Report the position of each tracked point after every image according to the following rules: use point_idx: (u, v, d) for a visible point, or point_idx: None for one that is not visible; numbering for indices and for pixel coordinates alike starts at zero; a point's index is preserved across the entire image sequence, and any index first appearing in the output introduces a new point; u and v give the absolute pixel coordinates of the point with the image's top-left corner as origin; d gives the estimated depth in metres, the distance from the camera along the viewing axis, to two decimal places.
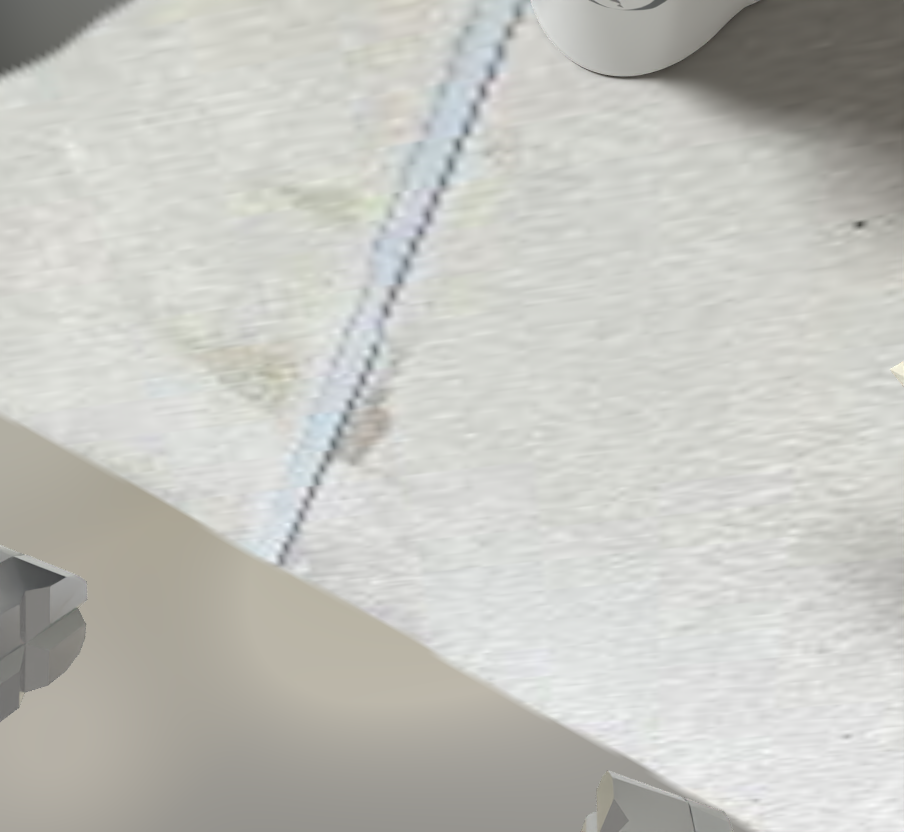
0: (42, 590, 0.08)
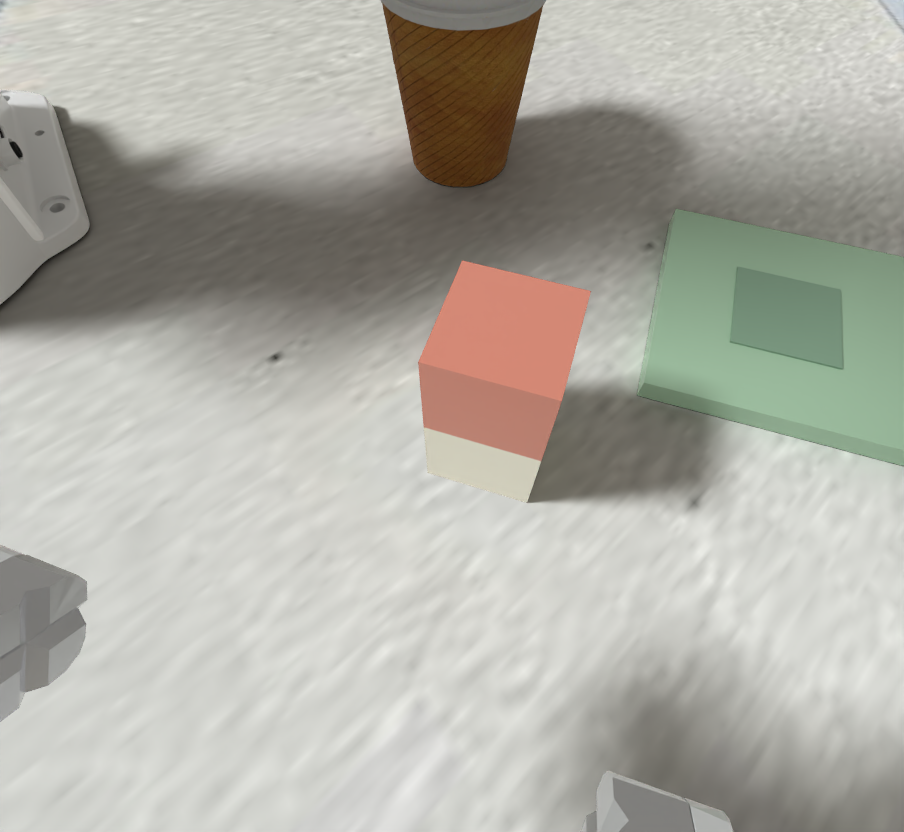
0: (42, 590, 0.08)
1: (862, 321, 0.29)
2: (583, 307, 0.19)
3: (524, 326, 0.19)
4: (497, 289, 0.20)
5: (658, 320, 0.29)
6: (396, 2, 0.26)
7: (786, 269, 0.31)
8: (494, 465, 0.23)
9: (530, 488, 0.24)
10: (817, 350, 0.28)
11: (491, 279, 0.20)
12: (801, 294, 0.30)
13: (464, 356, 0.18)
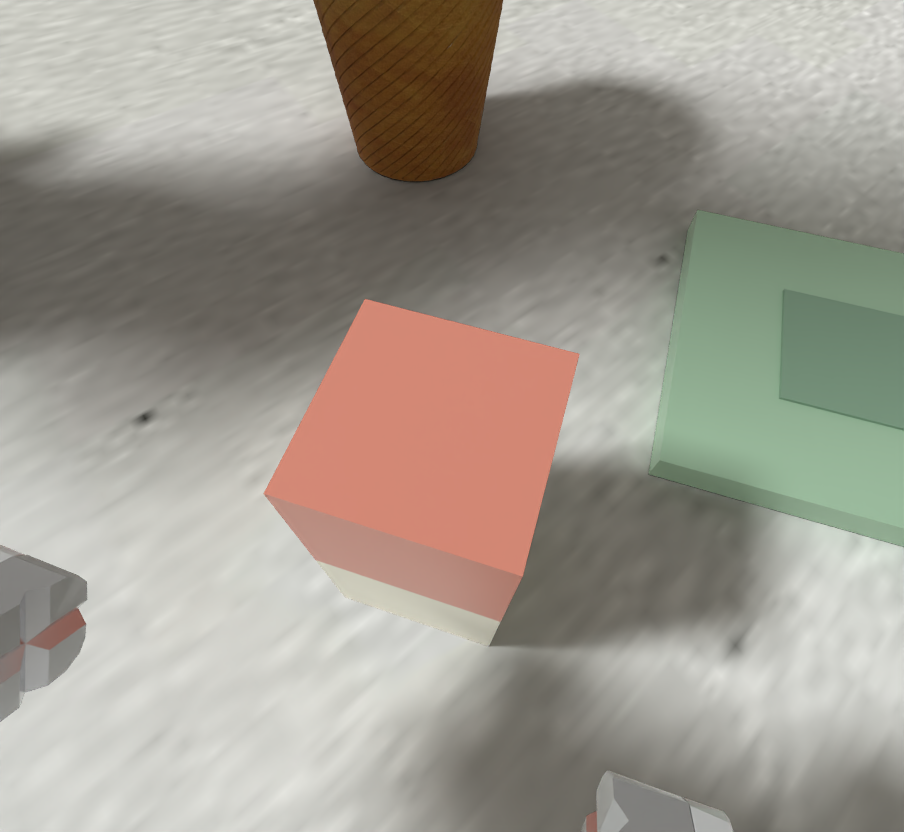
0: (42, 590, 0.08)
1: None
2: (566, 384, 0.11)
3: (461, 421, 0.11)
4: (419, 351, 0.12)
5: (678, 366, 0.21)
6: None
7: (850, 293, 0.23)
8: (431, 610, 0.15)
9: (490, 638, 0.16)
10: (903, 411, 0.20)
11: (411, 332, 0.12)
12: (874, 328, 0.22)
13: (349, 481, 0.10)
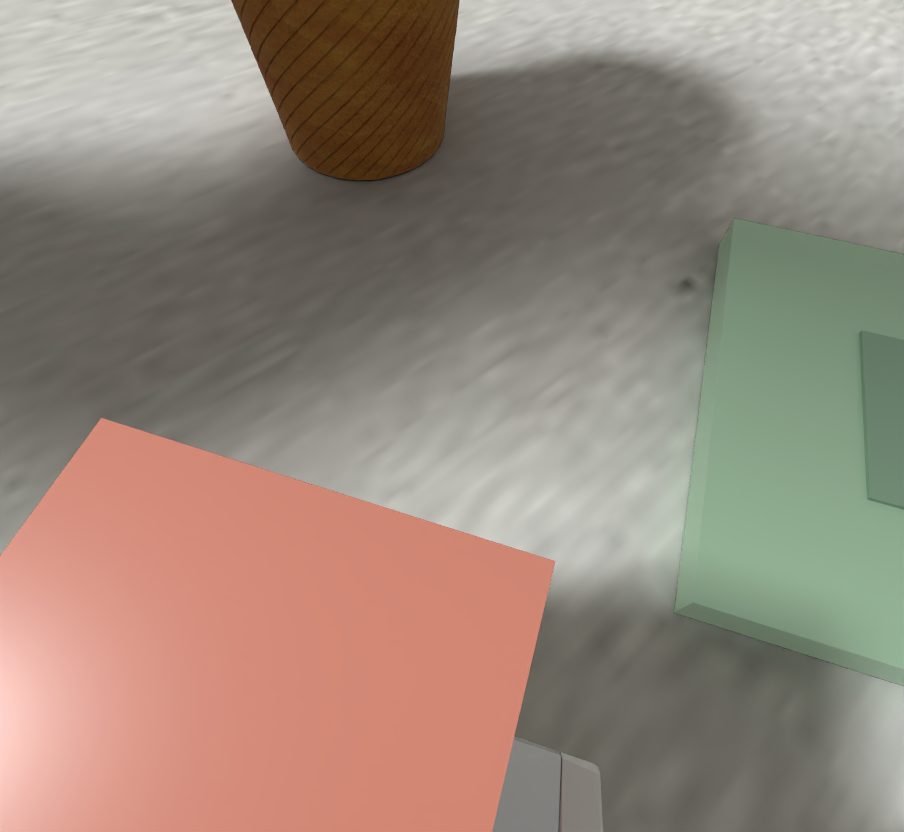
0: None
1: None
2: (521, 651, 0.05)
3: (250, 773, 0.04)
4: (189, 553, 0.05)
5: (716, 446, 0.14)
6: None
7: None
8: None
9: None
10: None
11: (182, 501, 0.05)
12: None
13: None
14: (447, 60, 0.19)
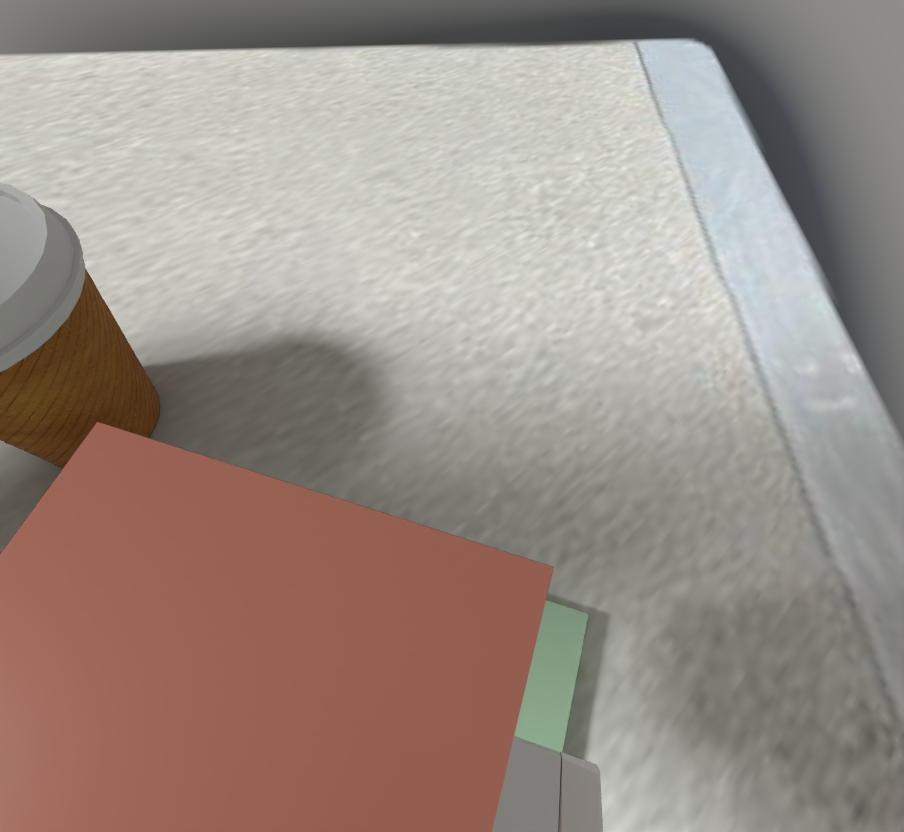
0: None
1: None
2: (519, 657, 0.05)
3: (247, 782, 0.04)
4: (185, 558, 0.05)
5: None
6: None
7: None
8: None
9: None
10: None
11: (177, 506, 0.05)
12: None
13: None
14: (123, 407, 0.27)
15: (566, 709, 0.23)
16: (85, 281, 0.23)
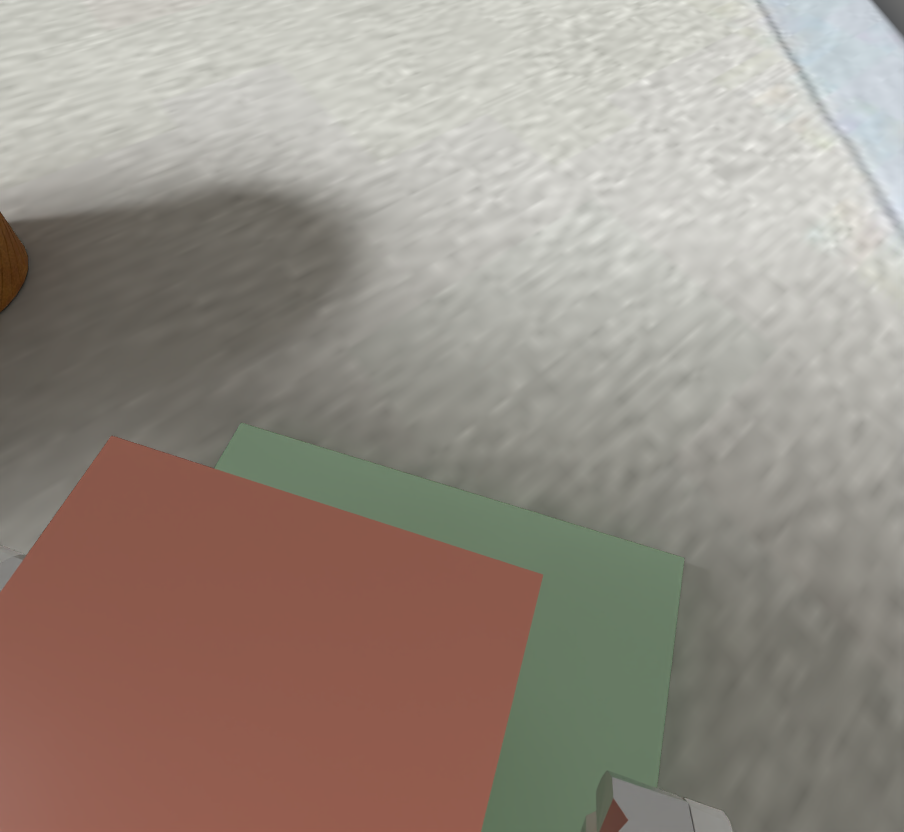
0: None
1: (531, 762, 0.12)
2: (510, 660, 0.05)
3: (255, 775, 0.04)
4: (196, 566, 0.05)
5: None
6: None
7: None
8: None
9: None
10: None
11: (188, 516, 0.06)
12: None
13: None
14: None
15: (658, 720, 0.13)
16: None
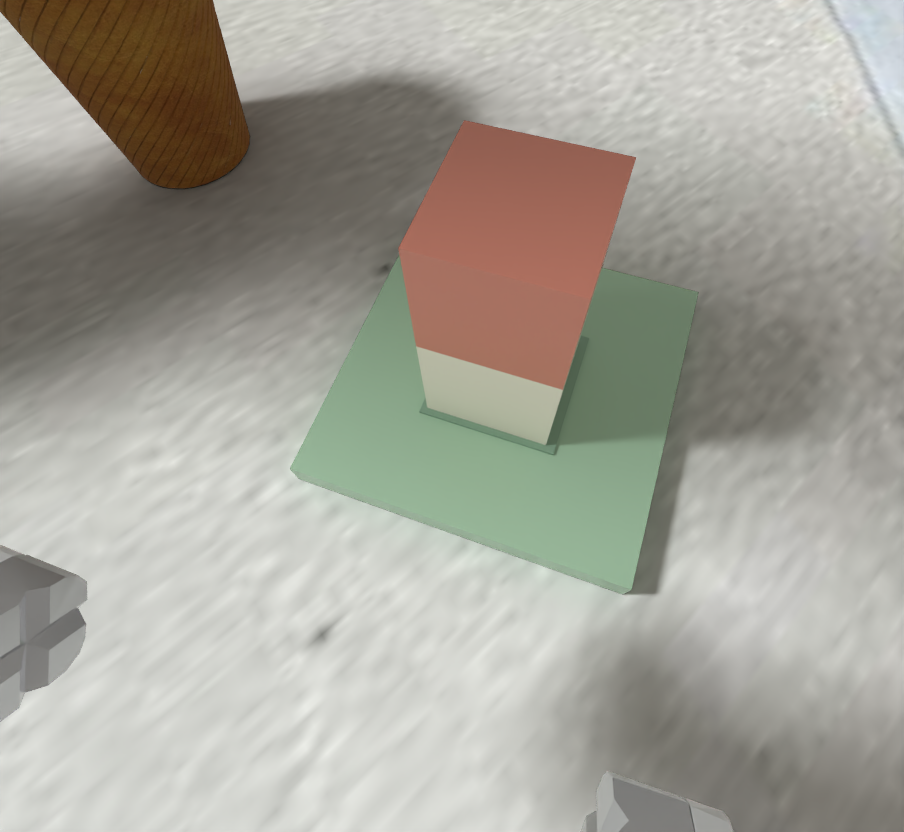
0: (42, 590, 0.08)
1: (604, 384, 0.22)
2: (625, 178, 0.14)
3: (543, 203, 0.14)
4: (509, 156, 0.15)
5: (339, 379, 0.23)
6: None
7: None
8: (504, 396, 0.19)
9: (549, 426, 0.19)
10: None
11: (501, 142, 0.15)
12: None
13: (460, 240, 0.14)
14: (220, 104, 0.27)
15: (677, 367, 0.22)
16: None
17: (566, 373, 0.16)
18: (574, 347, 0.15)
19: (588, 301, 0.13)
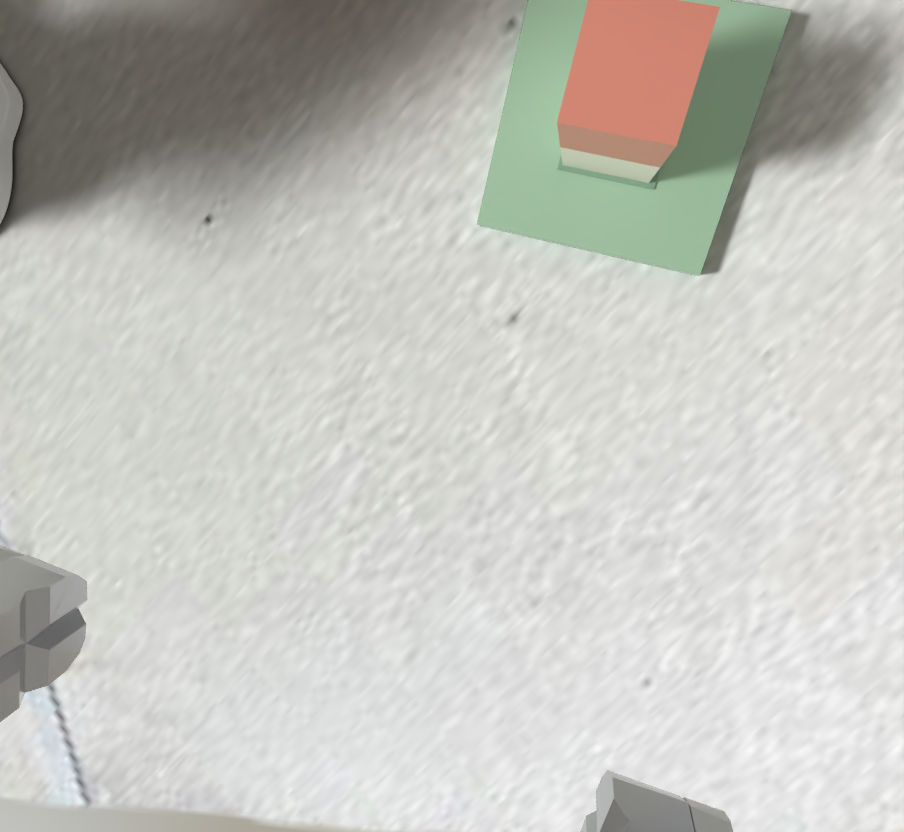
0: (42, 590, 0.08)
1: (696, 123, 0.29)
2: (709, 31, 0.21)
3: (649, 67, 0.21)
4: (626, 21, 0.21)
5: (496, 150, 0.32)
6: None
7: None
8: (620, 166, 0.28)
9: (651, 177, 0.29)
10: None
11: (620, 8, 0.21)
12: None
13: (595, 110, 0.22)
14: None
15: (758, 97, 0.28)
16: None
17: (662, 163, 0.25)
18: (667, 156, 0.24)
19: (675, 146, 0.22)
